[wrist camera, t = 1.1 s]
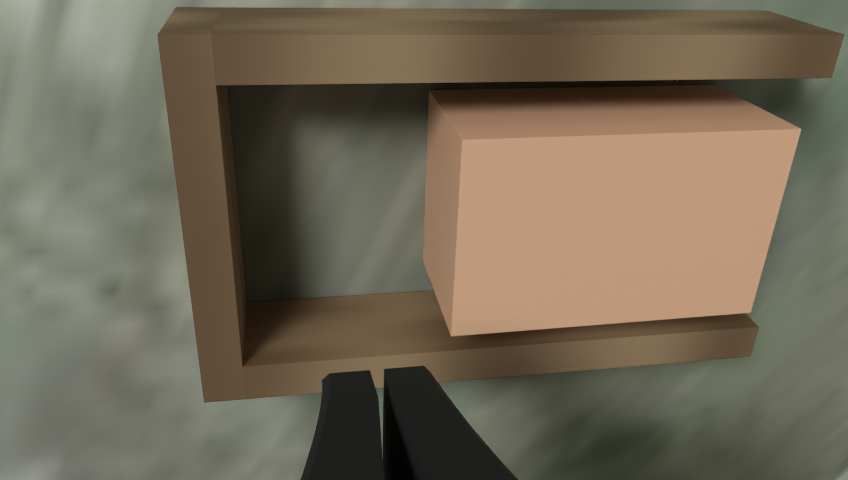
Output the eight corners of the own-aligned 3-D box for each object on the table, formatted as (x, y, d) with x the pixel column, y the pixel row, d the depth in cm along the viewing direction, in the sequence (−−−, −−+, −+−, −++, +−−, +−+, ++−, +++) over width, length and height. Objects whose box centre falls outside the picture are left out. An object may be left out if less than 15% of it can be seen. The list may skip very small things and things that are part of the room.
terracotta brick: (710, 82, 20) (801, 129, 17) (677, 242, 23) (750, 312, 19) (427, 88, 19) (462, 139, 15) (421, 257, 21) (450, 336, 18)
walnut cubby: (767, 10, 19) (844, 34, 17) (697, 300, 23) (750, 356, 21) (175, 7, 17) (157, 35, 14) (213, 334, 21) (204, 402, 18)
